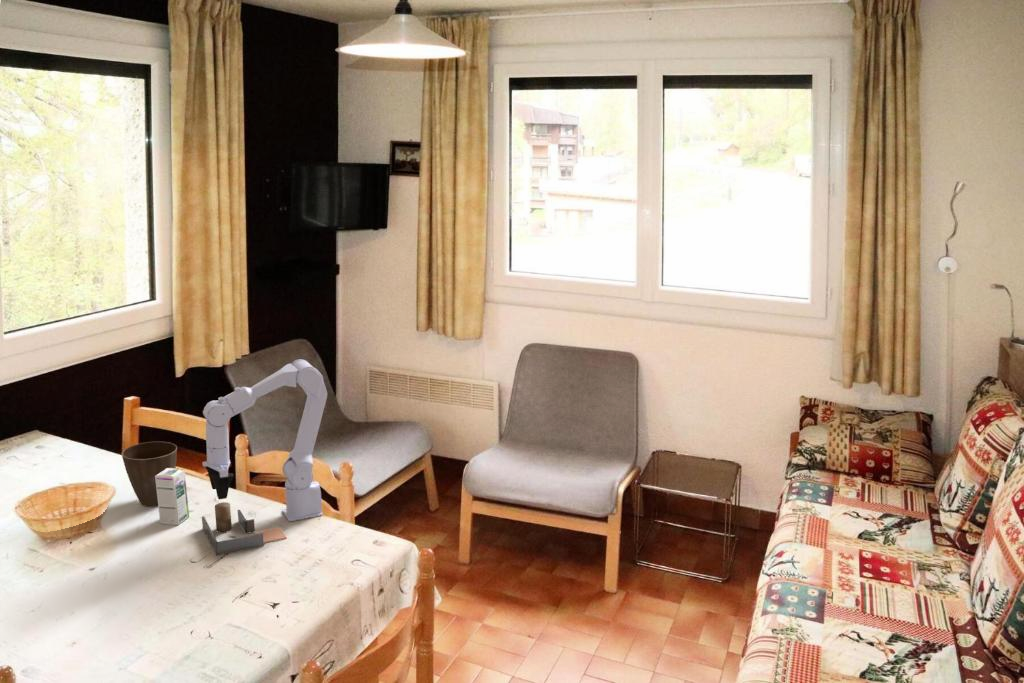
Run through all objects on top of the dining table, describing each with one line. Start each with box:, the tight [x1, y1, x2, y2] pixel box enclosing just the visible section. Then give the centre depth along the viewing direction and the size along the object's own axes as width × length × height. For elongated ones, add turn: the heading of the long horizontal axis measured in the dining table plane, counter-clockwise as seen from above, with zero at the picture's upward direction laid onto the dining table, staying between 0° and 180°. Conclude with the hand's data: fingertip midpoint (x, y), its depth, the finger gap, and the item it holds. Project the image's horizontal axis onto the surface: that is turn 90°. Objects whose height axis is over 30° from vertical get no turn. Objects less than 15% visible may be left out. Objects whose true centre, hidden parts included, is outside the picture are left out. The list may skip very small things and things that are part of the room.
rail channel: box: [201, 509, 265, 557], centre depth 251 cm, size 12×18×4 cm
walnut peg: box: [214, 502, 233, 533], centre depth 256 cm, size 4×4×7 cm
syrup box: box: [155, 467, 190, 526], centre depth 260 cm, size 6×6×14 cm
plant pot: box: [121, 441, 178, 508], centre depth 272 cm, size 15×15×16 cm
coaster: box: [253, 526, 288, 544], centre depth 252 cm, size 7×7×1 cm
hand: (219, 493), depth 254 cm, fingers open, 7 cm apart
